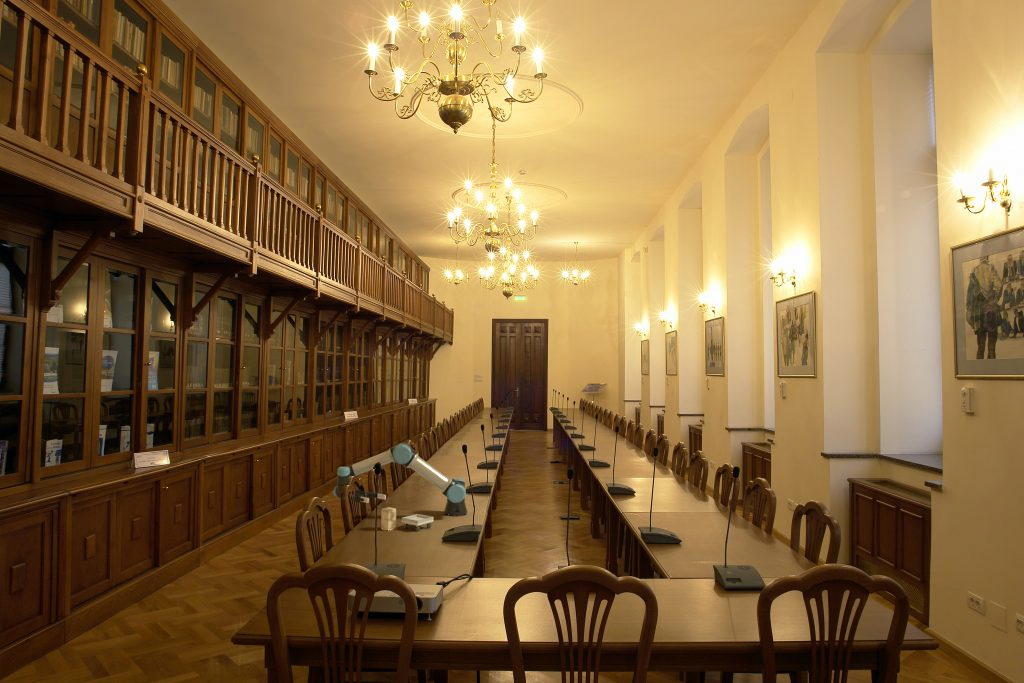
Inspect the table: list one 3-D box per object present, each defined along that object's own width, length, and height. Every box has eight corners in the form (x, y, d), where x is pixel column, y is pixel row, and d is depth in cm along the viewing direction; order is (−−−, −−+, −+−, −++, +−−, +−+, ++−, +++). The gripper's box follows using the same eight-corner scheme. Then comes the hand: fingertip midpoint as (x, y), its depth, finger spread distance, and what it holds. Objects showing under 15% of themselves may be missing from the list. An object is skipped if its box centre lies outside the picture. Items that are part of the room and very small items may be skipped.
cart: (417, 524, 404) (417, 513, 404) (433, 527, 396) (433, 516, 396) (401, 528, 393) (401, 517, 393) (417, 531, 385) (417, 520, 386)
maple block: (388, 527, 396) (389, 507, 397) (395, 529, 393) (396, 508, 393) (381, 529, 391) (381, 508, 392) (388, 531, 388) (388, 510, 388)
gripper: (368, 497, 421) (391, 502, 408) (336, 503, 401) (360, 508, 388) (368, 485, 421) (392, 489, 409) (337, 491, 401) (361, 495, 388)
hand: (376, 498), depth 398 cm, fingers open, 13 cm apart
